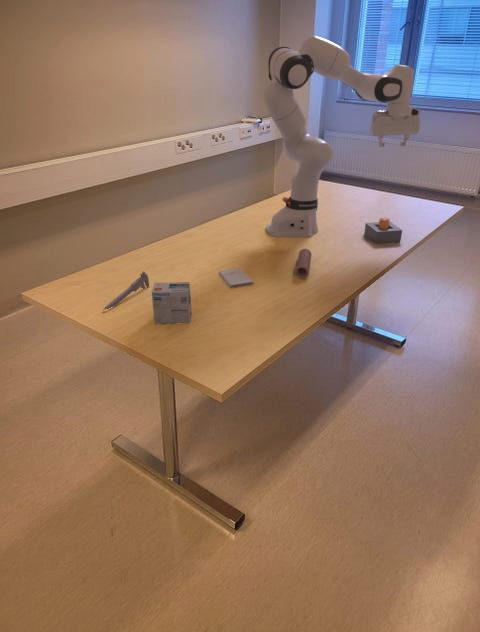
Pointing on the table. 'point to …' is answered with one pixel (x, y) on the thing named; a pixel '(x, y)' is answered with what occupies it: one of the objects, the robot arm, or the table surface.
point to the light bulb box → (171, 302)
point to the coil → (303, 263)
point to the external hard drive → (235, 277)
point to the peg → (383, 223)
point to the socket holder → (383, 233)
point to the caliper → (130, 289)
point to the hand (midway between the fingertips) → (392, 146)
